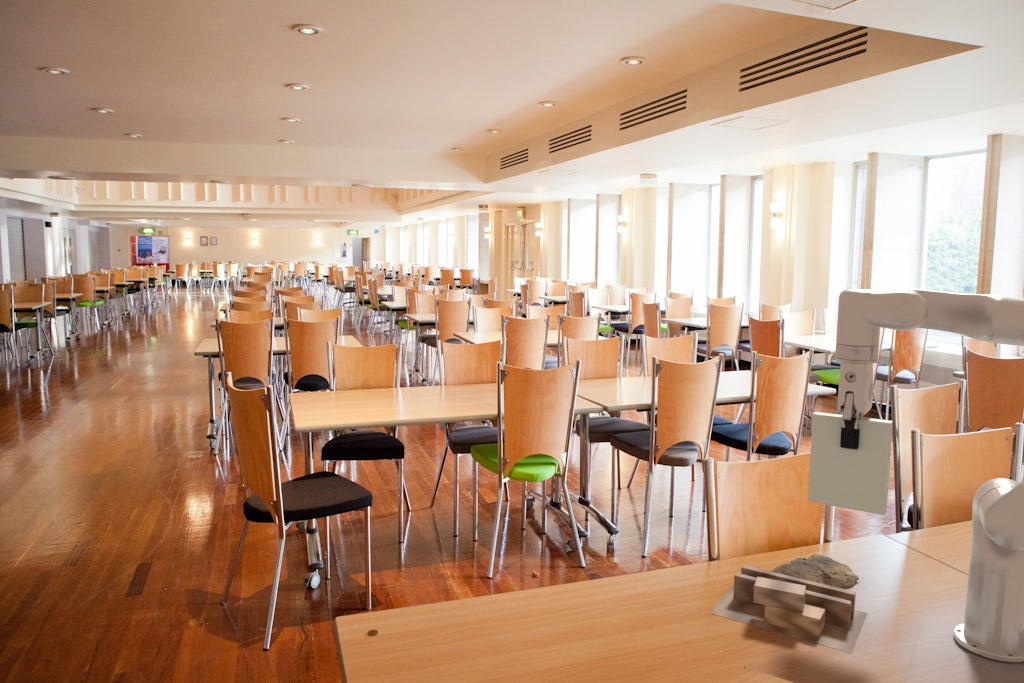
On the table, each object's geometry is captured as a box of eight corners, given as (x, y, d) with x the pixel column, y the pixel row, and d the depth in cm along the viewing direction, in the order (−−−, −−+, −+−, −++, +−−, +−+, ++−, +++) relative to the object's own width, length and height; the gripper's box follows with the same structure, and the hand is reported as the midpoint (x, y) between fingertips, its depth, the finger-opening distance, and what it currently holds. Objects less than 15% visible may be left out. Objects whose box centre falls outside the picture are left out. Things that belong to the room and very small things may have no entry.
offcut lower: (824, 626, 143) (825, 608, 143) (818, 637, 139) (819, 619, 139) (771, 611, 149) (772, 595, 149) (764, 622, 145) (765, 605, 144)
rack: (867, 620, 149) (869, 589, 148) (850, 661, 134) (853, 626, 133) (736, 586, 163) (738, 558, 162) (709, 620, 148) (710, 589, 148)
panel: (886, 511, 145) (892, 420, 143) (884, 515, 143) (891, 423, 141) (810, 498, 153) (815, 411, 151) (807, 501, 151) (812, 413, 149)
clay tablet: (795, 606, 155) (868, 589, 163) (795, 584, 155) (868, 567, 162) (750, 580, 168) (819, 565, 176) (750, 559, 168) (820, 545, 175)
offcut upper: (804, 602, 145) (805, 585, 145) (802, 612, 141) (803, 595, 141) (756, 593, 149) (757, 576, 149) (753, 602, 145) (754, 585, 145)
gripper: (871, 360, 136) (864, 459, 138) (884, 350, 149) (878, 440, 151) (827, 356, 140) (821, 452, 142) (843, 347, 153) (838, 435, 155)
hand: (850, 445), depth 146 cm, fingers closed on panel, 2 cm apart
